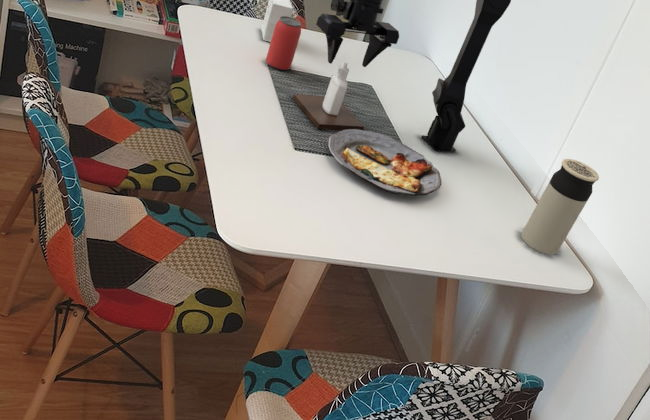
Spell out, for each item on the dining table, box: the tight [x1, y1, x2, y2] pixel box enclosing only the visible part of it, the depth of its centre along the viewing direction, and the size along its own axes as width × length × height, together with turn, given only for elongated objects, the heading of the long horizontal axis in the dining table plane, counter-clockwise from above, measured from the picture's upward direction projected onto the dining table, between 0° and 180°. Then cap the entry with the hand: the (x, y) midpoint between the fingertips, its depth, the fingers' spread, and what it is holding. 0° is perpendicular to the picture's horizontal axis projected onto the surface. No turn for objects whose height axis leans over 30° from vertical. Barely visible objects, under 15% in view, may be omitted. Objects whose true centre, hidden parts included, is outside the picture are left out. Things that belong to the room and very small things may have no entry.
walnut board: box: [292, 93, 365, 131], centre depth 171 cm, size 14×12×1 cm
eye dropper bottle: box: [322, 61, 350, 116], centre depth 167 cm, size 4×6×12 cm
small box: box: [260, 0, 294, 43], centre depth 200 cm, size 8×6×10 cm
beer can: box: [265, 16, 302, 71], centre depth 184 cm, size 7×7×12 cm
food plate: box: [328, 129, 443, 197], centre depth 155 cm, size 25×23×4 cm
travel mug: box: [520, 158, 600, 255], centre depth 145 cm, size 8×8×18 cm
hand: (346, 64), depth 166 cm, fingers open, 9 cm apart
